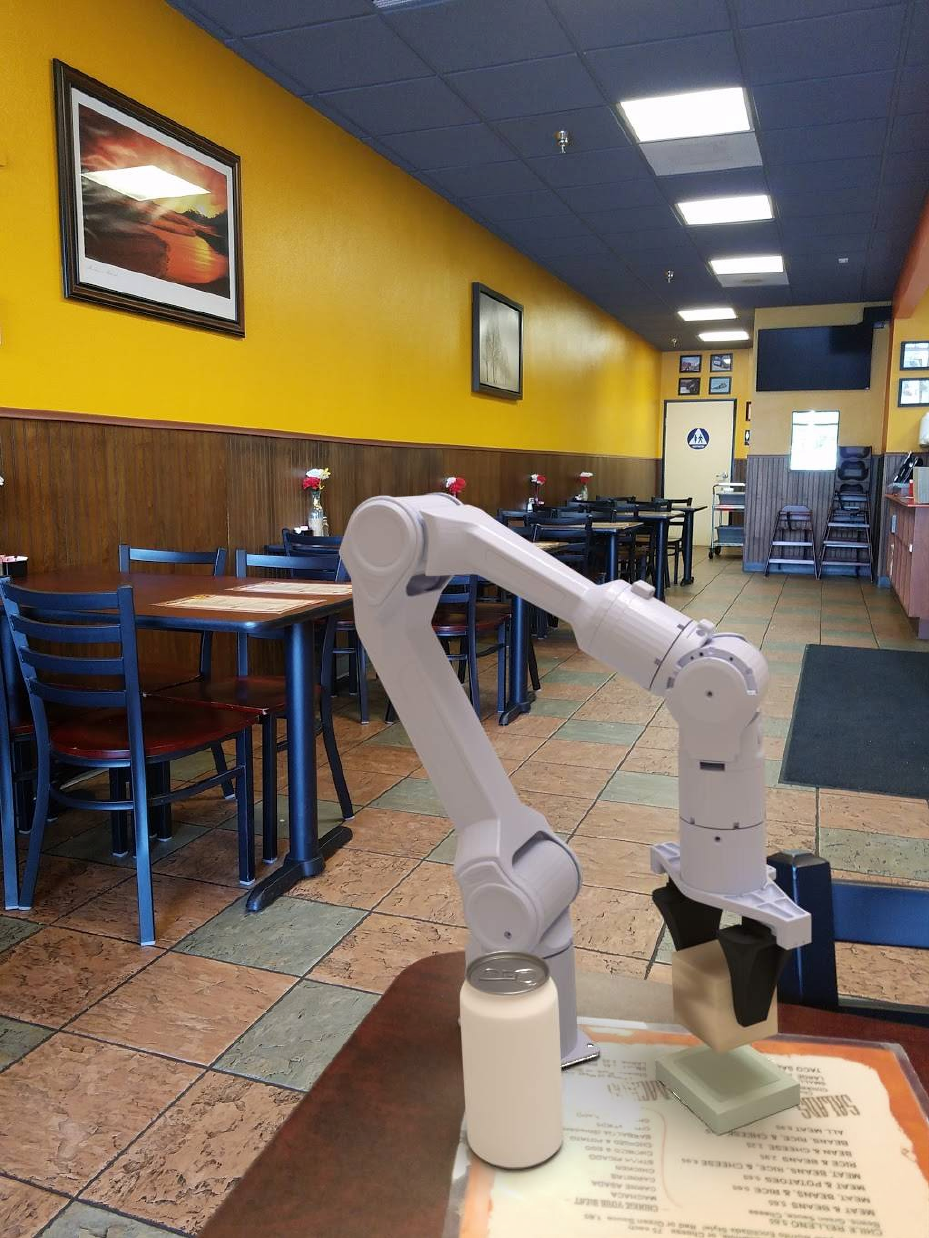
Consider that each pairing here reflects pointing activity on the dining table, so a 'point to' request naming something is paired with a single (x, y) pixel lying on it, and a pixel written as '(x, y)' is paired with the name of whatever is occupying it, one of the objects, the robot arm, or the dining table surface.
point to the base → (727, 1085)
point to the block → (712, 1000)
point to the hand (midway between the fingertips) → (725, 1001)
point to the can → (511, 1059)
